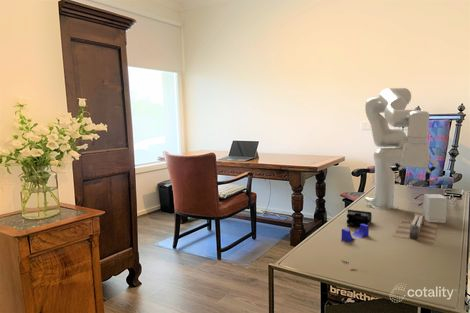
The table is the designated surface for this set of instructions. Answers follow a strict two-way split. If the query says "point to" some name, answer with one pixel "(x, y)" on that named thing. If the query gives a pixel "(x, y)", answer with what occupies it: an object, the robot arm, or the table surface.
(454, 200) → the eyeglasses
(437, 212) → the supplement box
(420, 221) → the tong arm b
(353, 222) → the end cap
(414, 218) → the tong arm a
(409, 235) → the tong board
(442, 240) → the table surface
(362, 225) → the blue cradle stand
